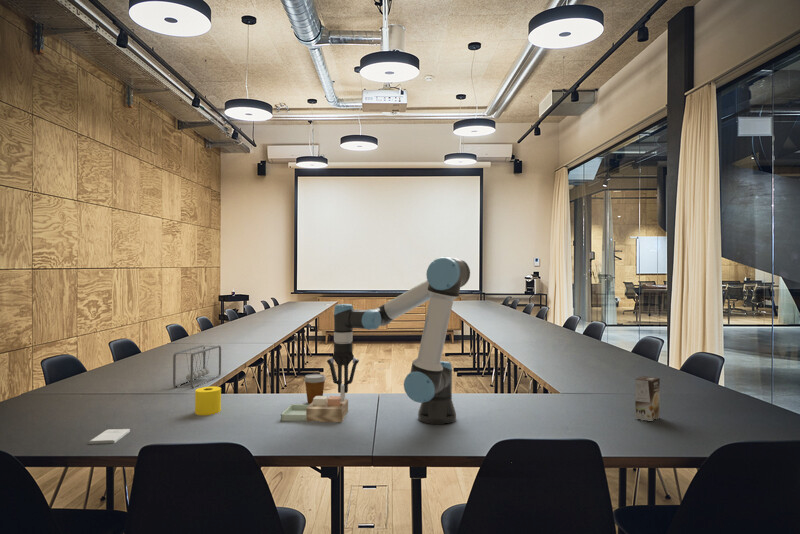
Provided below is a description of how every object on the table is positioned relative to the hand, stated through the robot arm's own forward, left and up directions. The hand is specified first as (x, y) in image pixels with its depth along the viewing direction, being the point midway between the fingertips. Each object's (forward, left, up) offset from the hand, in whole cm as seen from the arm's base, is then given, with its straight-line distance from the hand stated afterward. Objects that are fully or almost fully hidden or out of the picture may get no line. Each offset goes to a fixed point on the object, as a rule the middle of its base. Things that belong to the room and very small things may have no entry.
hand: (342, 400), depth 200 cm
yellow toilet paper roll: (+57, -3, -7) cm, 58 cm away
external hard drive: (+77, +30, -7) cm, 83 cm away
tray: (+18, 0, -6) cm, 19 cm away
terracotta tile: (+3, 0, -1) cm, 3 cm away
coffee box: (-122, -5, -7) cm, 122 cm away
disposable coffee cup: (+16, -20, -7) cm, 26 cm away
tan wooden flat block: (+6, 0, -6) cm, 9 cm away
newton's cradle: (+87, -57, -7) cm, 105 cm away
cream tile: (+9, 0, -1) cm, 9 cm away
